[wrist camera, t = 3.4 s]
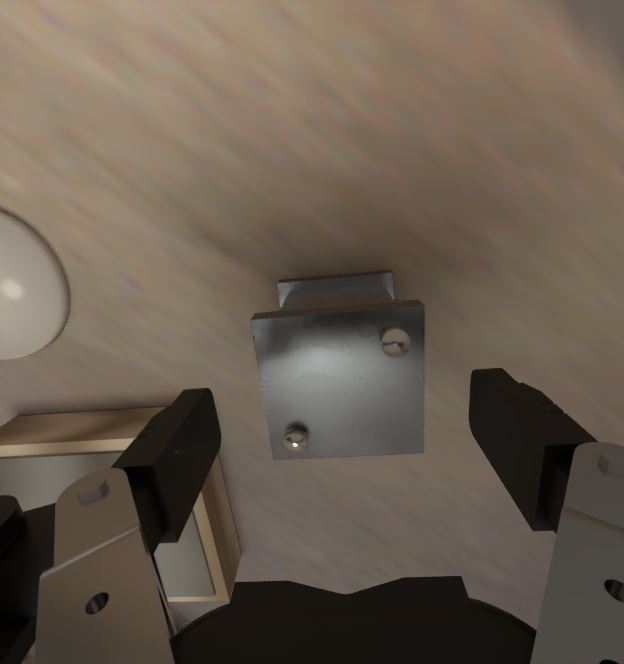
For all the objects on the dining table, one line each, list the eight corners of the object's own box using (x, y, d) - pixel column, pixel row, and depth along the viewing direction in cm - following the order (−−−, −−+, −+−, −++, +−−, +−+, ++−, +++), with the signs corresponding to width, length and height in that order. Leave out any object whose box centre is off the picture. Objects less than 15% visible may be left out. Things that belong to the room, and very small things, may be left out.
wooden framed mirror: (206, 404, 20) (185, 437, 17) (241, 555, 24) (228, 604, 21) (17, 416, 21) (-35, 450, 18) (78, 559, 25) (44, 606, 22)
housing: (390, 270, 17) (429, 310, 10) (393, 371, 19) (428, 464, 12) (279, 280, 18) (245, 325, 11) (292, 378, 20) (271, 471, 13)
